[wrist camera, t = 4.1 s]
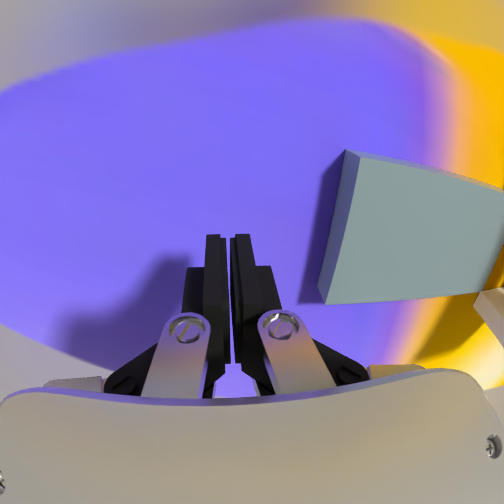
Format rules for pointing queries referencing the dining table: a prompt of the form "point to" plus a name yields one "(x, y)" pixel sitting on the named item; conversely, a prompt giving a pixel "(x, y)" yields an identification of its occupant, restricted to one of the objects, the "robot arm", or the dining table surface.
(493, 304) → the shelf
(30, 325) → the dining table surface
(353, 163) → the panel
